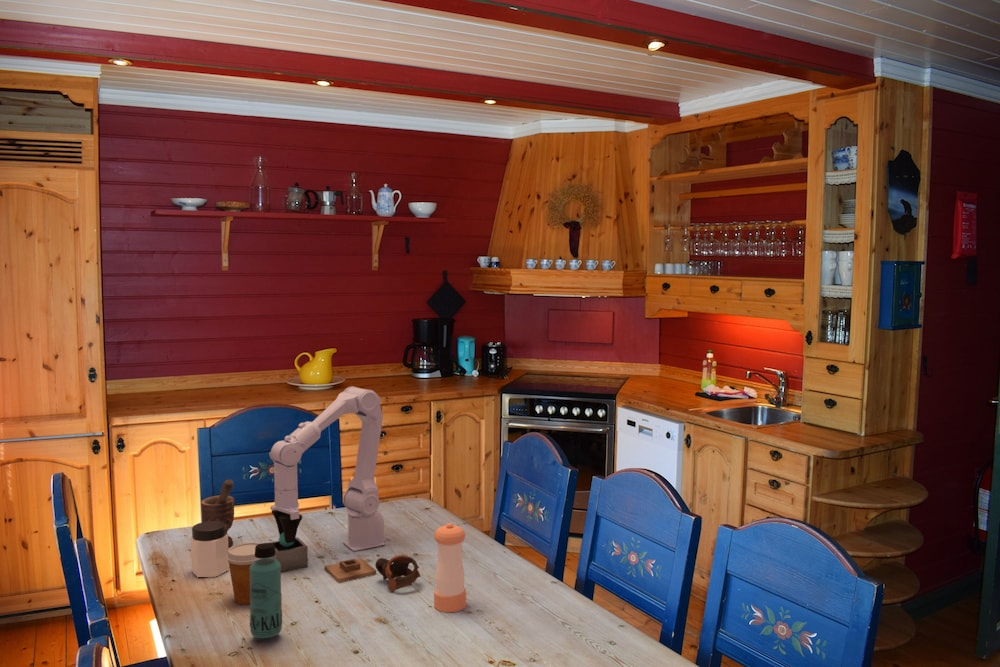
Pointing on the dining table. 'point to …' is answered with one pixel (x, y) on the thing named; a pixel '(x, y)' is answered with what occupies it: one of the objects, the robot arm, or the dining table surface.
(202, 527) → the jar
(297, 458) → the robot arm
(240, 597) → the disposable coffee cup
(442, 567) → the salt shaker
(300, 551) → the open box
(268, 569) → the beverage bottle
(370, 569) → the stand
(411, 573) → the pottery mug
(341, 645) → the dining table surface
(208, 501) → the mortar and pestle
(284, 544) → the ball
